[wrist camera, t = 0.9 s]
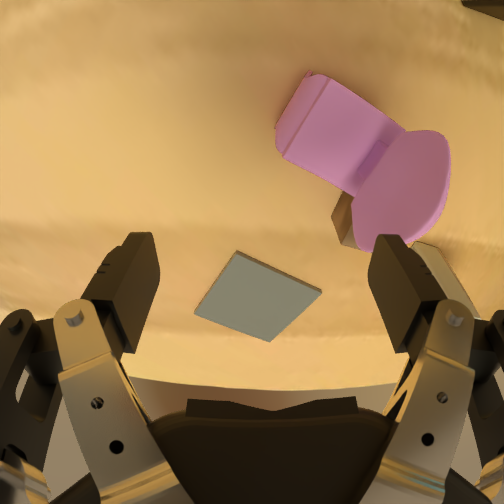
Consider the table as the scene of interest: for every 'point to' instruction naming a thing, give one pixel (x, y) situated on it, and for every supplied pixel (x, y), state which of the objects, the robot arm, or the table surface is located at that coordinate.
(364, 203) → the toy chair
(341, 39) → the table surface
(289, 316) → the coaster
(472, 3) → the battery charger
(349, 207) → the walnut block
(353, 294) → the table surface
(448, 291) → the skincare box
